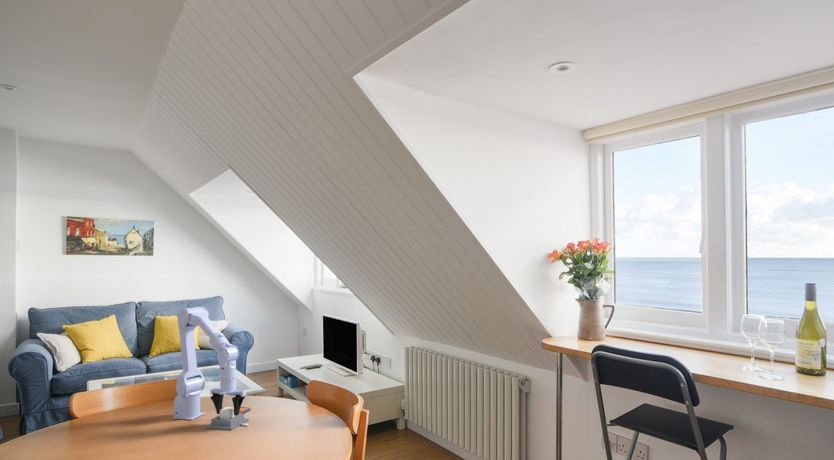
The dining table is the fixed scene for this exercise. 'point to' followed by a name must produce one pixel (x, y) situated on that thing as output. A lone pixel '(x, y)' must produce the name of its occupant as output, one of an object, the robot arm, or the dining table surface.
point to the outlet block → (228, 422)
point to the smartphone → (244, 410)
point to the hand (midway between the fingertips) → (227, 414)
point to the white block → (227, 413)
